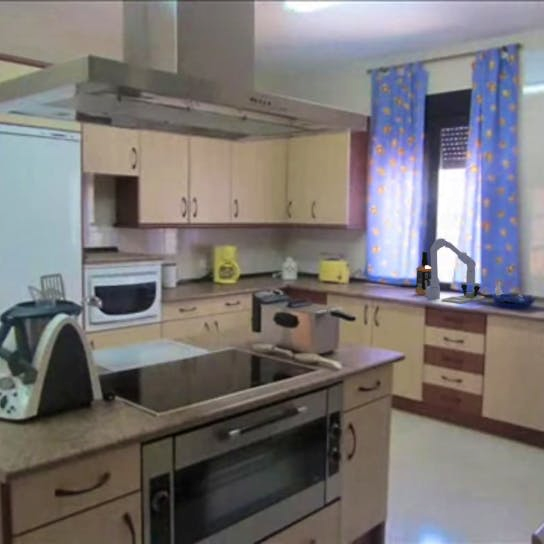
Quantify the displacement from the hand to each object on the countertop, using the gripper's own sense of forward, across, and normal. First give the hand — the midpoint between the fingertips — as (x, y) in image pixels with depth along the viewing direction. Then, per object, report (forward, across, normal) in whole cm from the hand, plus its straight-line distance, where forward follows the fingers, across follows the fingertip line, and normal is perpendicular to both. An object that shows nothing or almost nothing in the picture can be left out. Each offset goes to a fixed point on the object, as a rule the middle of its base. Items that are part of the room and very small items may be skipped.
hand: (470, 296), depth 421 cm
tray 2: (+3, 0, 0) cm, 3 cm away
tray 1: (+3, -3, -14) cm, 15 cm away
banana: (+3, +24, +8) cm, 26 cm away
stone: (+2, 0, 0) cm, 2 cm away
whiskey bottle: (+3, -39, +4) cm, 39 cm away
